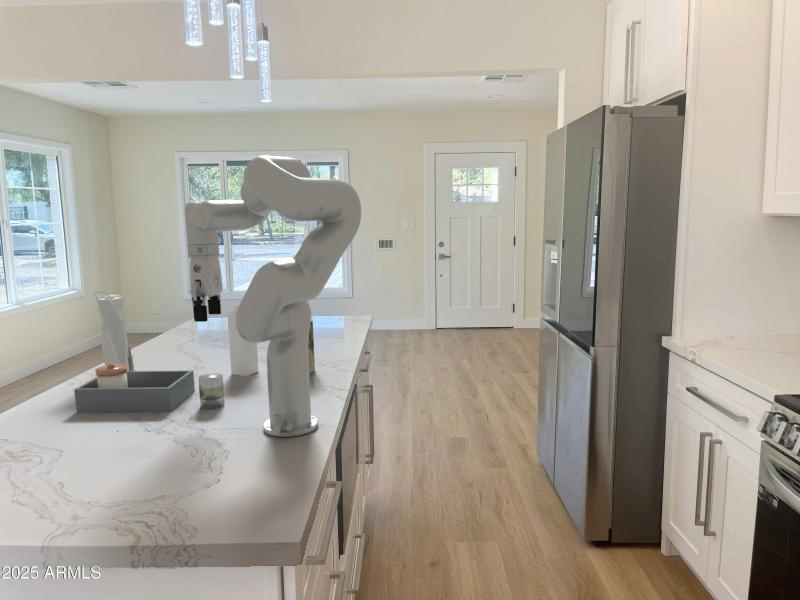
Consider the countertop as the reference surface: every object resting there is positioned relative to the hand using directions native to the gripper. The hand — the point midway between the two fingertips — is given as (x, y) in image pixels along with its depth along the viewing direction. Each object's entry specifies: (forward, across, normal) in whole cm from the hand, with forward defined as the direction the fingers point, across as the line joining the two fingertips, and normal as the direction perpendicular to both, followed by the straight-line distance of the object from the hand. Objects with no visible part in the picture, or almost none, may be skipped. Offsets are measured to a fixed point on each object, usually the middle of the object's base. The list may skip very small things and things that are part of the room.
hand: (208, 317), depth 147 cm
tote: (+23, 0, +20) cm, 31 cm away
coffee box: (+24, +28, -17) cm, 40 cm away
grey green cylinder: (+24, 0, 0) cm, 24 cm away
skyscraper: (+24, +21, +37) cm, 48 cm away
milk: (+24, +30, +1) cm, 38 cm away
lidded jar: (+22, 0, +27) cm, 35 cm away
